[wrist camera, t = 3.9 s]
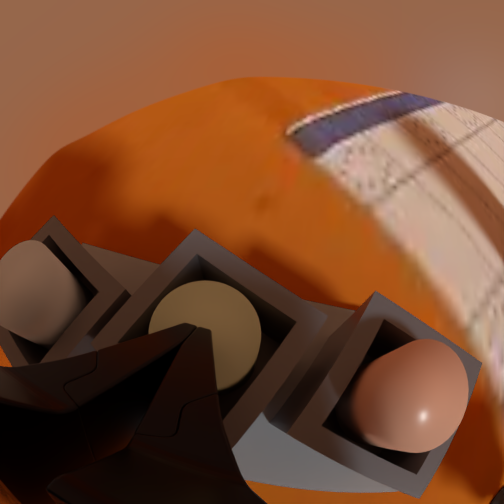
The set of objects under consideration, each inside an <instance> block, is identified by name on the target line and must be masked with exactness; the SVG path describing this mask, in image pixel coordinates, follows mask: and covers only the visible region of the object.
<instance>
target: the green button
mask: <svg viewBox="0 0 504 504" xmlns="http://www.w3.org/2000/svg"><path fill="white" fill-rule="evenodd" d="M181 323H189V324H193V325H196V326H197V327H203V328H207V329H210V330H211V331H212V342H213V352H214V362H215V372H216V382H217V391H218V395H222V394H227V393H230V392H232V391H235V390H237V389H238V388H240V387H241V386H242V385H243V384H245V383H246V381H247V380H248V379H249V378H250V376H251V375H252V373H253V370H254V368H255V364H256V360H257V356H258V352H259V348H260V342H261V327H260V322H259V318H258V315H257V313H256V311H255V309H254V307H253V306H252V304H251V303H250V302H249V300H248V299H247V298H246V297H245V296H244V295H243V294H242V293H240V292H239V291H238V290H236V289H234V288H233V287H231V286H228V285H226V284H223V283H220V282H215V281H196V282H191V283H187V284H184V285H182V286H180V287H178V288H176V289H174V290H173V291H171V292H170V293H169V294H168V295H166V296H165V297H164V298H163V299H162V301H161V302H160V303H159V304H158V306H157V307H156V309H155V311H154V313H153V315H152V317H151V321H150V325H149V333H148V334H151V333H154V332H157V331H160V330H163V329H166V328H169V327H172V326H175V325H178V324H181Z"/></svg>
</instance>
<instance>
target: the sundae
mask: <svg viewBox="0 0 504 504" xmlns="http://www.w3.org/2000/svg"><path fill="white" fill-rule="evenodd" d="M491 504H504V487H503V488H502V489H501V490H500V491H499V492H498V493H497V495H496V496H495V498H494V499H493V501H492V502H491Z"/></svg>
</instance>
